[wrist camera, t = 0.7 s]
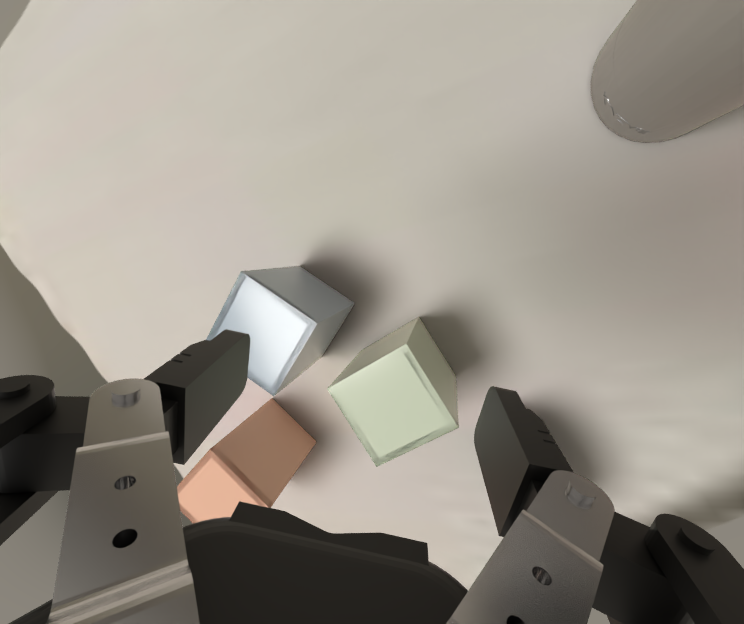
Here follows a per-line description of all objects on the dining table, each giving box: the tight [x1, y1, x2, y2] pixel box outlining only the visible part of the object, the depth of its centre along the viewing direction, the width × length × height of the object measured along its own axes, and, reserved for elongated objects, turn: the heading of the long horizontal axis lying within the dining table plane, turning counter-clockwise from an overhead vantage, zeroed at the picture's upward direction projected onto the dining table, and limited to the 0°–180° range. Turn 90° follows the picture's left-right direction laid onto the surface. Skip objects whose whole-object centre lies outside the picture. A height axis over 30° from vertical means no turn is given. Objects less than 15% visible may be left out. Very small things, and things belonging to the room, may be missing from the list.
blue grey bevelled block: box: [206, 266, 355, 396], centre depth 30 cm, size 6×6×10 cm
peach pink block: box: [177, 399, 316, 524], centre depth 33 cm, size 6×6×10 cm
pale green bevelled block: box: [328, 317, 459, 467], centre depth 29 cm, size 6×6×10 cm
